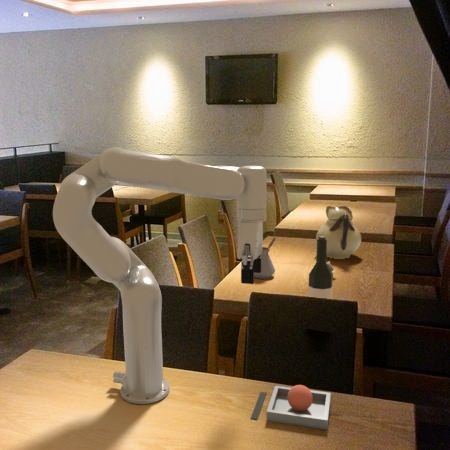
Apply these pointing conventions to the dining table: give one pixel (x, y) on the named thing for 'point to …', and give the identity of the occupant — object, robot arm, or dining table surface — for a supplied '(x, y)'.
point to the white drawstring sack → (340, 233)
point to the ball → (300, 398)
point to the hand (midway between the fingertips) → (251, 277)
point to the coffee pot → (266, 263)
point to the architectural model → (331, 267)
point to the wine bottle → (321, 273)
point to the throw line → (258, 405)
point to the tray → (309, 418)
